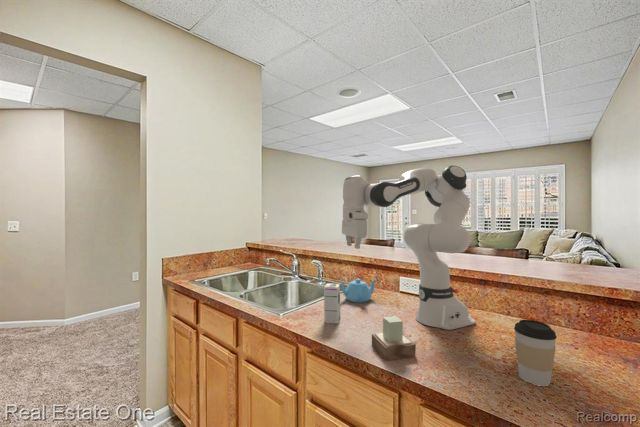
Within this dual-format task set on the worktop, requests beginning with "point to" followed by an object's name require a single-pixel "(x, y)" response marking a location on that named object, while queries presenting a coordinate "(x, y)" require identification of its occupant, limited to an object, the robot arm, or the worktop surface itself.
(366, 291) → the teapot
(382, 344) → the plinth
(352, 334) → the worktop surface
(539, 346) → the coffee cup
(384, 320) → the sage block
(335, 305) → the syrup box
